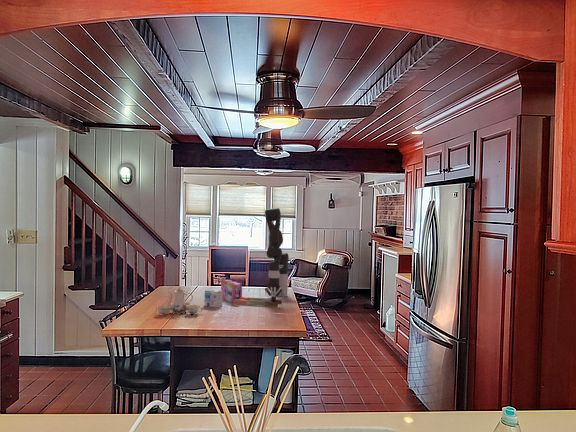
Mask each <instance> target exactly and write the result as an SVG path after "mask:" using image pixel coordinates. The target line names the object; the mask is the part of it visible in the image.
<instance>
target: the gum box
mask: <svg viewBox="0 0 576 432" xmlns="http://www.w3.org/2000/svg"><path fill="white" fill-rule="evenodd" d="M220 283H221V284H220V286H221V287H220V290H222V291H223V293H222V299H224V300H226V301H228V302H231V303H235V299H236V300H240V297H243V283H242V282H241V281H238V280H235V279H232V278H221V281H220Z"/></svg>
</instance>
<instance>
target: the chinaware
mask: <svg viewBox="0 0 576 432" xmlns="http://www.w3.org/2000/svg"><path fill="white" fill-rule="evenodd" d="M168 294H169V296H168V300H167V305H165V304H162V305H157V308H156V309H155V311H156V312H155V313H157V314H159V315H166V316H167V315H168V314H169V313H170V311H171V312H172V314H174V313H183V314H186V313H187V312H188V313H189V314H199V309H201V311H200V312H202V311H203V307H201V305H198V304H192V305H191V303H190V302H192V301H193V299H194V297H193V294H192V293H191V292H185V290H183V289H182V288H181V287H178V289H177V290H175V291H174V294H175V295H174V301H173V302H172V298H173V294H172V292H171V291H168ZM188 294H189V295H190V296H191V299H190V300H189V301H185V300H186V299H185V296H187V295H188ZM157 310H158V311H157ZM185 312H186V313H185Z"/></svg>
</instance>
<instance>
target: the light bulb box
mask: <svg viewBox="0 0 576 432" xmlns="http://www.w3.org/2000/svg"><path fill="white" fill-rule="evenodd" d="M222 293H223V291H222V290H221V289H213V288H209V289H208V288H207V289H205V290H204V306H205V307H212V308H219V307H222V306H223V298H222Z"/></svg>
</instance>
